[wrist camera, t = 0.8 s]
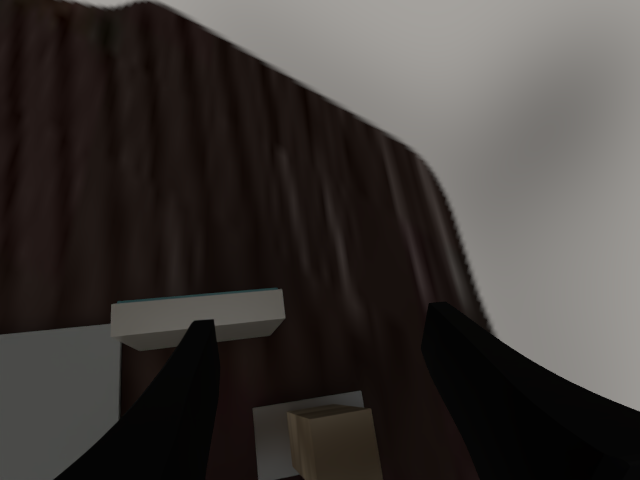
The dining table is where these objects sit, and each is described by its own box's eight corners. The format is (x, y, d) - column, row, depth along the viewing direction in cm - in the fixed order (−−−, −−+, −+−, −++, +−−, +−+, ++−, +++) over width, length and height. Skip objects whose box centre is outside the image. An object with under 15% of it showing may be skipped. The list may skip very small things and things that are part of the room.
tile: (269, 335, 26) (285, 318, 20) (139, 351, 24) (110, 336, 18) (267, 310, 27) (281, 286, 21) (139, 324, 25) (111, 300, 18)
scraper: (369, 457, 25) (425, 482, 18) (258, 480, 23) (274, 518, 16) (358, 390, 26) (407, 390, 20) (252, 407, 25) (264, 415, 18)
